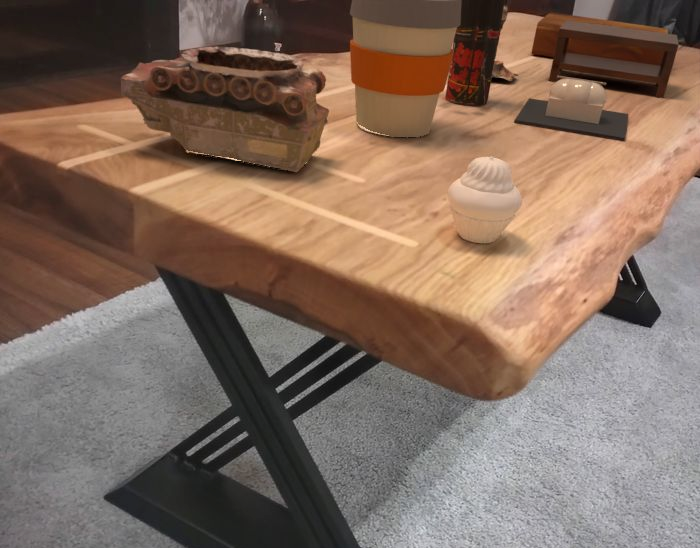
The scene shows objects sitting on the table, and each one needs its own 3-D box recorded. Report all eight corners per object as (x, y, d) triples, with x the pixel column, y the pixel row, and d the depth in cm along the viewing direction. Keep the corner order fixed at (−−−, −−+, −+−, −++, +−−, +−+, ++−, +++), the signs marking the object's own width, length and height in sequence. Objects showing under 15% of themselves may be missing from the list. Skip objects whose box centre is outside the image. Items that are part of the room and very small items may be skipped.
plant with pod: (460, 67, 130) (480, -68, 119) (524, 79, 125) (551, -60, 115) (440, 74, 123) (459, -68, 113) (507, 87, 119) (533, -60, 109)
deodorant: (438, 95, 111) (454, -21, 103) (475, 95, 112) (494, -18, 105) (456, 105, 106) (474, -15, 98) (494, 106, 108) (515, -12, 100)
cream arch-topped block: (601, 117, 105) (611, 80, 103) (600, 124, 102) (609, 86, 99) (547, 108, 107) (555, 72, 105) (543, 115, 104) (551, 78, 101)
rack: (662, 85, 131) (677, 34, 127) (663, 98, 122) (678, 44, 118) (555, 69, 135) (566, 20, 131) (548, 80, 126) (559, 28, 122)
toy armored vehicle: (282, 196, 71) (287, 86, 66) (96, 156, 76) (87, 52, 71) (334, 158, 81) (341, 62, 76) (168, 125, 86) (164, 33, 81)
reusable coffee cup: (465, 133, 94) (486, -1, 87) (397, 148, 86) (414, 2, 79) (389, 108, 101) (402, -17, 94) (319, 121, 93) (328, -15, 86)
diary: (530, 55, 144) (537, 22, 141) (544, 42, 160) (550, 12, 157) (658, 74, 139) (668, 40, 136) (659, 58, 154) (668, 27, 151)
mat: (627, 116, 109) (628, 113, 109) (624, 141, 97) (625, 137, 97) (528, 100, 112) (529, 98, 112) (514, 122, 101) (514, 119, 100)
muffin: (432, 239, 65) (444, 157, 61) (453, 217, 70) (466, 140, 66) (504, 257, 63) (521, 173, 59) (521, 232, 68) (537, 154, 64)
